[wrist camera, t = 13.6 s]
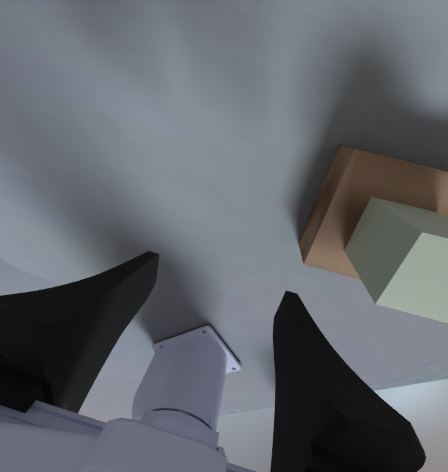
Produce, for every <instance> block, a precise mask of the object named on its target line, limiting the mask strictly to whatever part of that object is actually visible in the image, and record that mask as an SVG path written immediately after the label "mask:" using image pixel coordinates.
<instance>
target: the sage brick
mask: <svg viewBox="0 0 448 472" xmlns="http://www.w3.org/2000/svg"><path fill="white" fill-rule="evenodd" d="M344 252H345V253H346V255H347V257H348V259H349V260H350V262H351V264H352V265H353V267H354V269H355V270H356V272H357V274H358V275H359V277H360V279H361V280H362V282H363V284H364V285H365V287H366V289H367V290H368V292H369V294H370V296H371V297H372V299H373V301H374V302H375V304H378V305H381V306H385V307H389V308H393V309H396V310H400V311H404V312H408V313H411V314H415V315H419V316H422V317H426V318H430V319H434V320H437V321H441V322H445V323H448V218H447V217H445V216H443V215H441V214H440V213H438V212H434V211H430V210H426V209H421V208H417V207H413V206H409V205H405V204H401V203H396V202H392V201H388V200H384V199H380V198H376V197H371V198H370V200H369V202H368V204H367V206H366V208H365V210H364V212H363V214H362V216H361V218H360V220H359V222H358V224H357V226H356V228H355V230H354V232H353V234H352V236H351V238H350V240H349V242H348V244H347V246H346V248H345V250H344Z"/></svg>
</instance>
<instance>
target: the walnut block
mask: <svg viewBox="0 0 448 472" xmlns="http://www.w3.org/2000/svg"><path fill="white" fill-rule="evenodd" d="M371 197H376V198H380V199H384V200H388V201H392V202H396V203H401V204H405V205H409V206H413V207H417V208H421V209H426V210H430V211H434V212H438V213H440V214H441V215H443V216H445V217H447V218H448V171H447V170H442V169H438V168H434V167H430V166H426V165H422V164H418V163H414V162H410V161H405V160H401V159H397V158H393V157H389V156H385V155H381V154H377V153H373V152H368V151H364V150H360V149H356V148H352V147H348V146H344V145H340V144H339V147H338V149H337V152H336V154H335V157H334V159H333V161H332V164H331V166H330V169H329V171H328V173H327V176H326V178H325V181H324V183H323V186H322V188H321V190H320V193H319V195H318V198H317V200H316V202H315V205H314V207H313V210H312V212H311V215H310V217H309V219H308V222H307V224H306V227H305V229H304V232H303V234H302V236H301V239H300V241H299V247H300V251H301V255H302V259H303V263H304V264H305V265H309V266H312V267H316V268H320V269H324V270H327V271H331V272H335V273H338V274H342V275H346V276H349V277H353V278H357V279H360V277H359V275H358V274H357V272H356V270H355V269H354V267H353V265H352V264H351V262H350V260H349V259H348V257H347V255H346V253H345V252H344V250H345V248H346V246H347V244H348V242H349V240H350V238H351V236H352V234H353V232H354V230H355V228H356V226H357V224H358V222H359V220H360V218H361V216H362V214H363V212H364V210H365V208H366V206H367V204H368V202H369V200H370V198H371ZM360 280H361V279H360Z"/></svg>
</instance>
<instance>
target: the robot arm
mask: <svg viewBox="0 0 448 472" xmlns="http://www.w3.org/2000/svg"><path fill="white" fill-rule="evenodd" d="M158 259H159V254H157V253H153V252H150V251H148V252H146V253H144V254H142V255H140V256H138V257H136V258H134V259H132V260H129V261H127V262H125V263H123V264H121V265H119V266H117V267H114V268H112V269H110V270H107V271H105V272H103V273H100V274H97V275H95V276H92V277H89V278H86V279H83V280H80V281H76V282H72V283H68V284H65V285H61V286H57V287H52V288H48V289H43V290H38V291H32V292H26V293H18V294H10V295H3V296H0V472H255V471H252V470H249V469H246V468H243V467H240V466H237V465H234V464H231V463H228V459H227V457H226V454H225V451H224V449H223V448H222V447H219V446H217V444H218V438H219V433H218V432H216V429H217V423H218V417H219V411H220V405H221V399H222V393H223V387H224V381H225V375H226V373H230V372H234V371H238V370H240V369H241V364H240V363H239V362H238V361H237V359H236V358H235V357H234V355H233V354H232V353H231V352H230V350H229V349H228V348H227V347H226V345H225V344H224V343H223V341H222V340H221V339H220V338H219V336H218V335H217V334H216V333H215V331H214V330H213V329H212V327H210V326H208V325H207V326H203V327H201V328H198V329H195V330H192V331H189V332H186V333H184V334H181V335H178V336H175V337H172V338H170V339H167V340H164V341H161V342H158V343H155V344H153V346H152V349H153V350H154V351H155V352H156V353H155V355H154V357H153V359H152V361H151V363H150V365H149V367H148V369H147V371H146V373H145V375H144V377H143V379H142V382H141V384H140V386H139V388H138V390H137V392H136V394H135V397H134V401H133V406H132V419H133V420H131V419H126V418H118V419H113V420H110V421H108V422H107V423H105V422H102V421H99V420H95V419H92V418H89V417H86V416H83V415H80V414H78V412H79V410H80V408H81V406H82V404H83V402H84V400H85V398H86V396H87V394H88V392H89V391H90V389H91V387H92V385H93V383H94V381H95V379H96V378H97V376H98V374H99V372H100V370H101V368H102V367H103V365H104V363H105V361H106V359H107V358H108V356H109V354H110V352H111V351H112V349H113V347H114V346H115V344H116V342H117V341H118V339H119V337H120V336H121V334H122V333H123V331H124V330H125V328H126V327H127V326H128V324H129V323H130V322H131V320H132V319H133V317H134V316H135V315H136V313H137V312H138V311H139V309H140V308H141V306H142V305H143V304H144V302H145V301H146V299H147V298H148V296H149V294H150V293H151V291H152V289H153V287H154V285H155V283H156V276H157V267H158ZM204 330H205V331H204ZM273 347H274V362H275V380H276V390H275V415H274V432H273V448H272V460H271V472H417V471H418V470H419V469H421V467H423V465H424V463H425V460H426V456H425V452H424V450H423V448H422V446H421V444H420V442H419V439H418V437H417V435H416V433H415V431H414V429H413V427H412V425H411V423H410V422H409V421H407V420H406V419H405V418H404V417H403V416H402V415H400V414H399V413H398V412H397V411H396V410H394V409H393V408H392V407H391V406H390V405H388V404H387V403H386V402H385V401H384V400H383V399H381V398H380V397H379V396H378V395H377V394H376V393H375V392H374V391H373V390H372V389H371V388H370V387H369V386H368V385H367V384H365V383H364V382H363V381H362V380H361V379H360V378H359V377H358V375H357V374H356V373H355V372H354V371H353V370H352V369H351V368H350V367H349V366H348V365H347V364H346V363H345V362H344V360H343V359H342V358H341V357H340V356H339V355H338V353H337V352H336V351H335V350H334V349H333V347H332V346H331V345H330V343H329V342H328V341H327V339H326V338H325V337H324V335H323V334H322V332H321V331H320V330H319V328H318V327H317V325H316V324H315V322H314V321H313V319H312V317H311V316H310V314H309V313H308V311H307V309H306V308H305V306H304V304H303V303H302V301H301V299H300V297H299V296H298V294H296V293H293V292H289V291H286V292H285V294H284V296H283V299H282V301H281V303H280V305H279V307H278V310H277V312H276V314H275V316H274V324H273Z"/></svg>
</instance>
